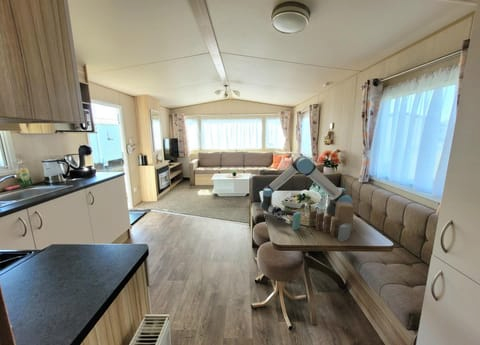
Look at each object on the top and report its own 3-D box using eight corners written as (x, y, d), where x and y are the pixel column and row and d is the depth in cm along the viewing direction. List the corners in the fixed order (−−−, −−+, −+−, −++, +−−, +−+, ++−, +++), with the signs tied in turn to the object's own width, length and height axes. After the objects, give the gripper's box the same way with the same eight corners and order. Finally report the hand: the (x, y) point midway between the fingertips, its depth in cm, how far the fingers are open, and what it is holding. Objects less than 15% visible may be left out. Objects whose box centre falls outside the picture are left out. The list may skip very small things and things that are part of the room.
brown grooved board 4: (322, 232, 150) (324, 216, 147) (327, 230, 153) (329, 214, 151) (325, 233, 148) (327, 217, 146) (330, 231, 151) (331, 215, 149)
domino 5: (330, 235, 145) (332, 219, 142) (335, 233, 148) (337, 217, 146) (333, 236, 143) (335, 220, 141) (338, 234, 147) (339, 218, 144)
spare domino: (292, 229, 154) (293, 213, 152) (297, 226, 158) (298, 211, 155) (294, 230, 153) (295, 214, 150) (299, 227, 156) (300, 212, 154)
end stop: (344, 236, 144) (346, 222, 142) (349, 237, 142) (350, 224, 140) (337, 239, 139) (339, 225, 137) (342, 241, 137) (343, 227, 135)
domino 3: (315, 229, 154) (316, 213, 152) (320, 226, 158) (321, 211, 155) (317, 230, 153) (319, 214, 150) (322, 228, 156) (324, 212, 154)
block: (351, 233, 148) (355, 207, 144) (336, 232, 150) (339, 205, 146) (347, 227, 157) (350, 202, 153) (333, 226, 159) (335, 201, 155)
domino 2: (308, 226, 159) (309, 211, 157) (313, 224, 163) (314, 209, 160) (310, 227, 157) (312, 212, 155) (315, 225, 161) (317, 210, 159)
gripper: (285, 211, 178) (306, 220, 162) (263, 218, 164) (284, 228, 147) (285, 203, 177) (307, 211, 160) (263, 209, 163) (284, 218, 146)
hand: (296, 219), depth 154 cm, fingers open, 13 cm apart
